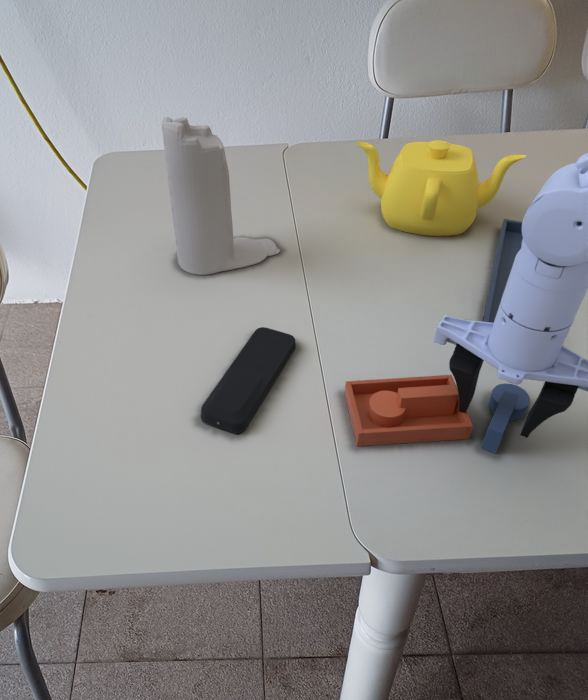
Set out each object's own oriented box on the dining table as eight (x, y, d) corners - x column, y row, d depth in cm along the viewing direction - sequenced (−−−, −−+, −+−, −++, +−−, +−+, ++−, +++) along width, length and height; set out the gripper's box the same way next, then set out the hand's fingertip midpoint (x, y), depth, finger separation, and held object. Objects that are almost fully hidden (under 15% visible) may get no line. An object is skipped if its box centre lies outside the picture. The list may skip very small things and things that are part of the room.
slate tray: (535, 356, 71) (539, 343, 70) (478, 344, 73) (482, 331, 71) (546, 238, 88) (550, 226, 86) (500, 230, 89) (503, 218, 88)
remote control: (259, 336, 76) (197, 420, 66) (259, 324, 75) (196, 408, 64) (298, 347, 74) (241, 436, 64) (298, 335, 73) (240, 424, 63)
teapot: (340, 240, 89) (346, 167, 82) (355, 186, 100) (362, 117, 93) (508, 260, 84) (531, 184, 77) (505, 200, 95) (524, 129, 88)
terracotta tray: (448, 387, 68) (451, 374, 67) (469, 438, 63) (473, 426, 61) (344, 393, 68) (345, 381, 66) (356, 446, 63) (358, 433, 61)
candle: (285, 259, 86) (288, 111, 73) (184, 279, 84) (167, 130, 70) (268, 231, 91) (268, 89, 78) (173, 250, 89) (155, 106, 75)
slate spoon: (507, 458, 61) (515, 438, 59) (469, 443, 62) (476, 423, 60) (529, 402, 66) (538, 381, 64) (494, 389, 67) (501, 368, 65)
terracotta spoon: (445, 396, 66) (451, 376, 64) (456, 423, 64) (462, 402, 62) (364, 402, 66) (367, 381, 64) (371, 429, 64) (375, 408, 62)
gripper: (434, 307, 53) (408, 415, 63) (625, 370, 48) (564, 479, 57) (461, 263, 58) (433, 371, 67) (639, 317, 52) (580, 426, 61)
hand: (494, 417), depth 62 cm, fingers open, 5 cm apart
